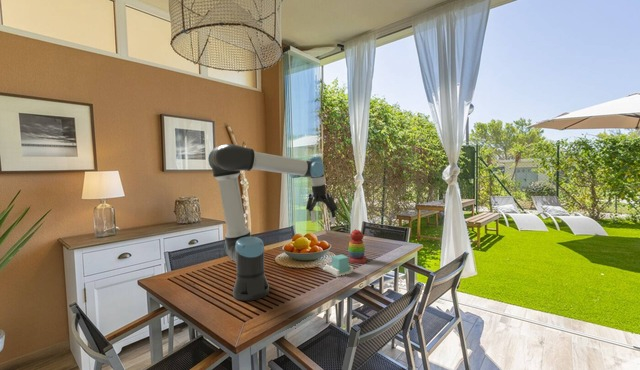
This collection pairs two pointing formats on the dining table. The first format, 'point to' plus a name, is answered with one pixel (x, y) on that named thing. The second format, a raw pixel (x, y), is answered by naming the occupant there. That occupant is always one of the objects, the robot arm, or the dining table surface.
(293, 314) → the dining table surface
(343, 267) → the block
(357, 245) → the stacking bear
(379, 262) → the dining table surface
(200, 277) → the dining table surface
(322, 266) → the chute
